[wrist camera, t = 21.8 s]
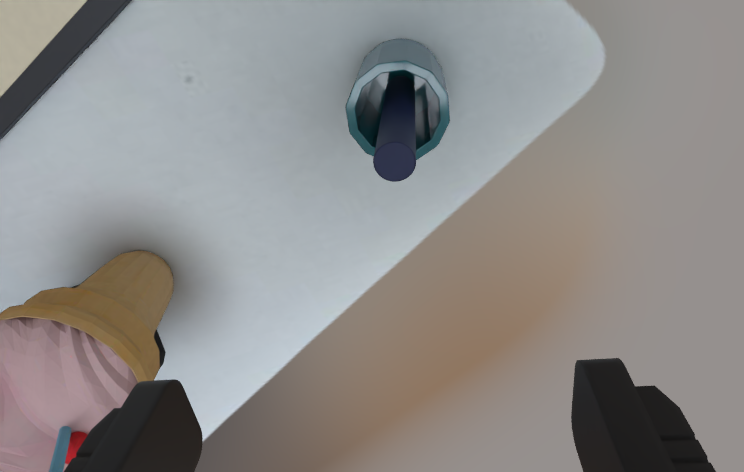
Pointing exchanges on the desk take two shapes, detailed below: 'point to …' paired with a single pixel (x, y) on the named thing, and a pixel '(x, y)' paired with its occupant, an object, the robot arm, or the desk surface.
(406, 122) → the pen
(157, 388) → the robot arm
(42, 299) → the ice cream cone
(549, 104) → the desk surface
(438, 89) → the pen cup
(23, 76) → the sketch pad
